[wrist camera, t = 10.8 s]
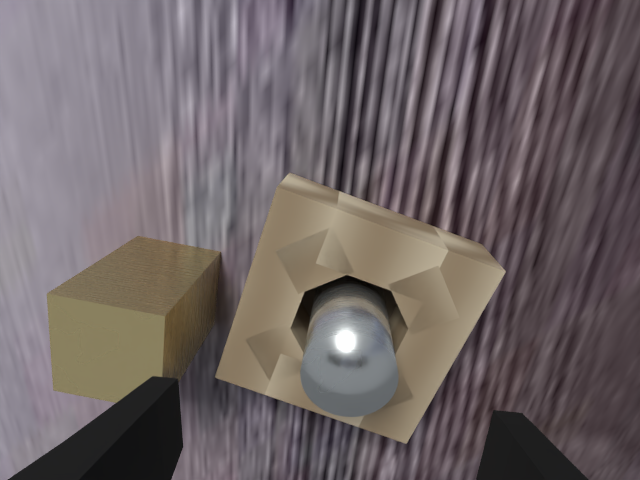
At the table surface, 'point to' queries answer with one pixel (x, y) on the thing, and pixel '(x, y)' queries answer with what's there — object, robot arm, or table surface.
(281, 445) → the table surface
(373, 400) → the round peg
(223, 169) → the table surface
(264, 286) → the socket block
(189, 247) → the square bit
